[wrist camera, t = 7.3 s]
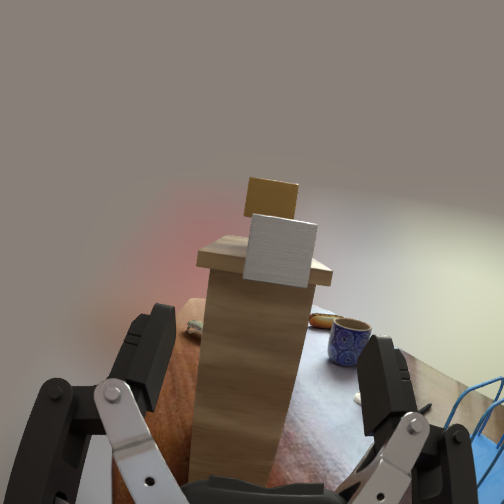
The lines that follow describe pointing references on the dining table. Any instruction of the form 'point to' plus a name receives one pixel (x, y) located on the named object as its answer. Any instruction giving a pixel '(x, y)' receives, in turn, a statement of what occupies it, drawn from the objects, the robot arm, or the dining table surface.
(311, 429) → the dining table surface
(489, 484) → the file sorter
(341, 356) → the planter
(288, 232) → the mallet
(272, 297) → the stand
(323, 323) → the hot dog
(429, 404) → the pen
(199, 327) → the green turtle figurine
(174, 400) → the dining table surface
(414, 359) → the dining table surface
